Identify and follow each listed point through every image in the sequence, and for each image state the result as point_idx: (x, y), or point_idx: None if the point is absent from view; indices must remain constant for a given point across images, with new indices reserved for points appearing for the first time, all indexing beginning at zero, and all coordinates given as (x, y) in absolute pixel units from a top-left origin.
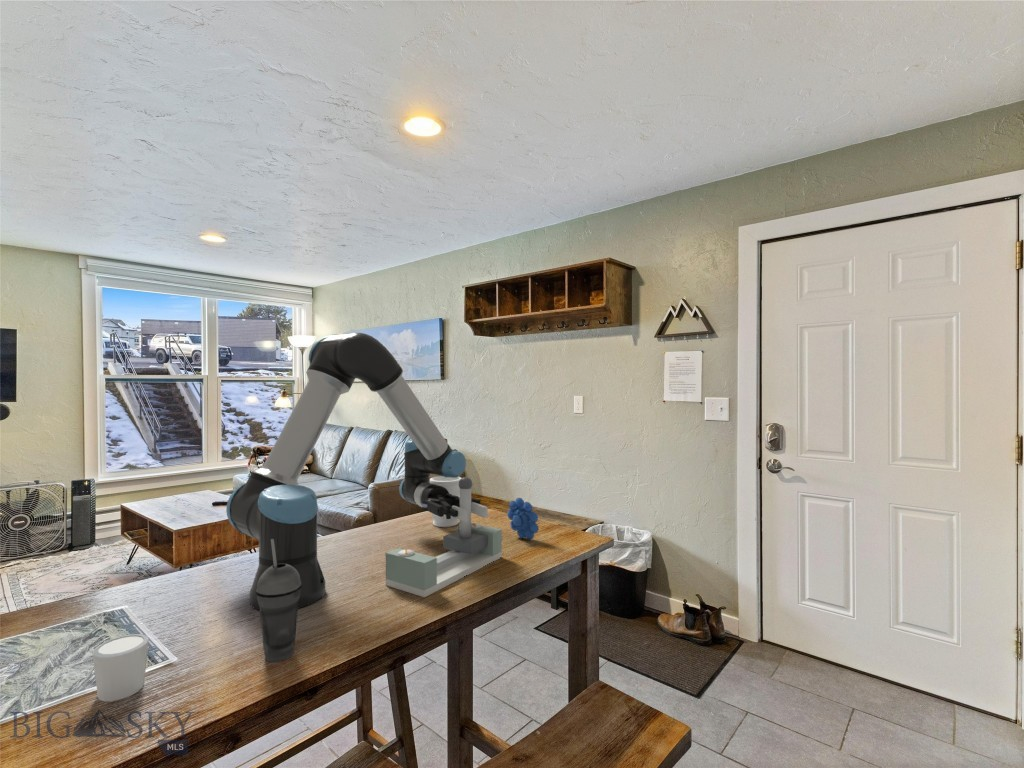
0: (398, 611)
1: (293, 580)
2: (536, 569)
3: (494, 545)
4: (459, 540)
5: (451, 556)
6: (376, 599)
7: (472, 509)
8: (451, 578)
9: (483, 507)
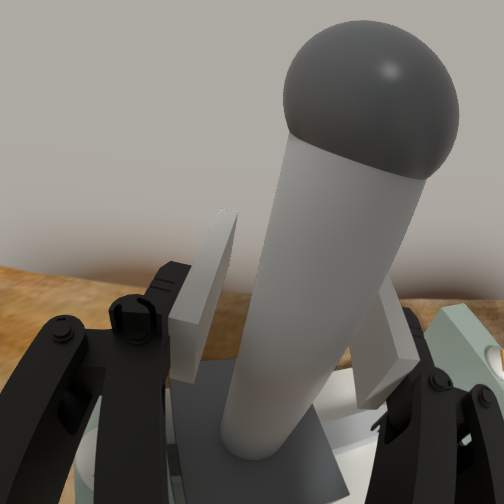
0: None
1: None
2: (141, 290)
3: None
4: (312, 407)
5: (340, 419)
6: None
7: (200, 350)
8: None
9: (234, 222)
